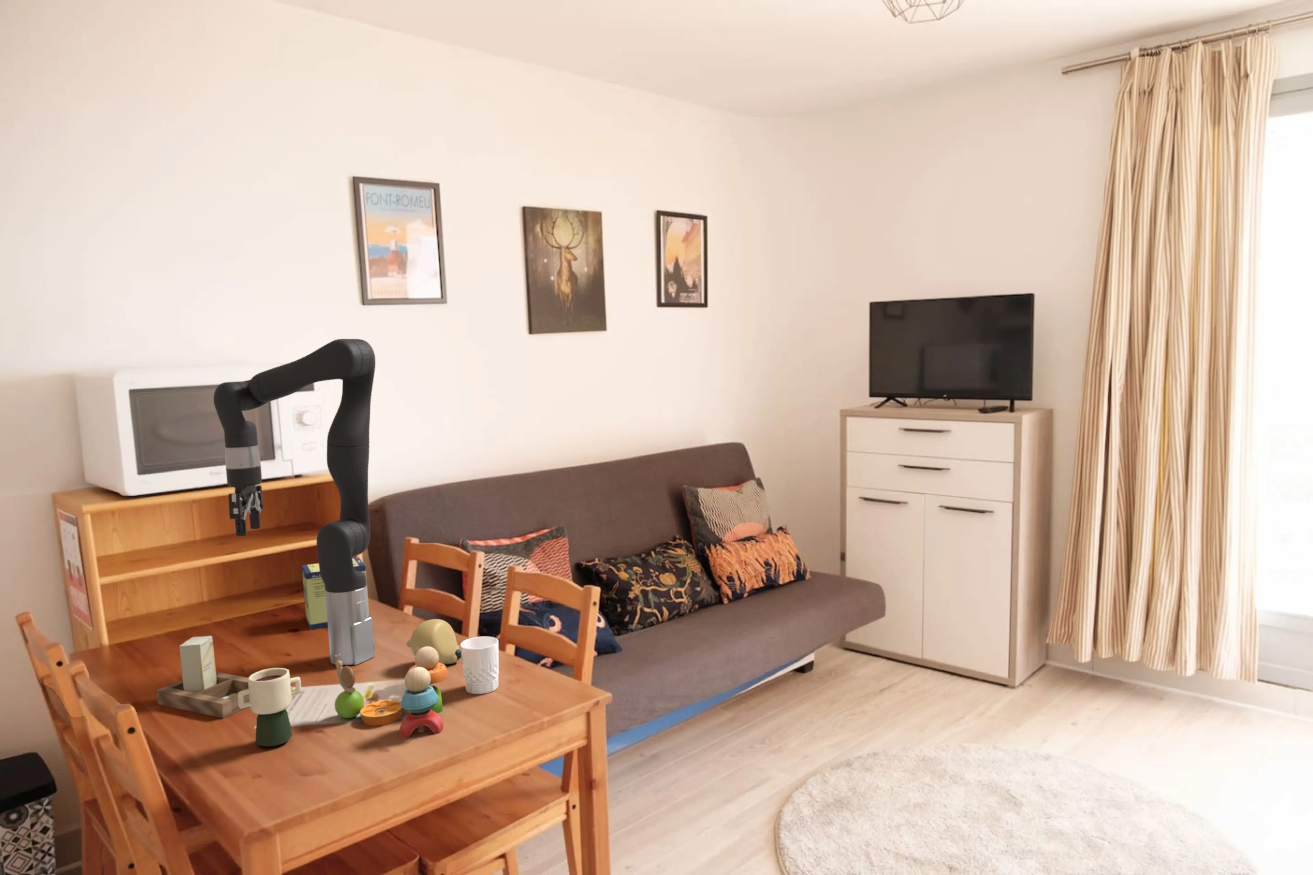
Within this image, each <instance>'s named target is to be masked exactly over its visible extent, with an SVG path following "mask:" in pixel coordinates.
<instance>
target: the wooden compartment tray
mask: <svg viewBox="0 0 1313 875" xmlns="http://www.w3.org/2000/svg"><path fill="white" fill-rule="evenodd" d="M216 679H217V685H214V686H212V687H209V688H207V689H204V690H202V691H200V692H197V693H194V692H189V691H184V687H183V679H182V680H179V681H177V682H174V683H171V684H169V685H167V686H164V687H162V688H160V689H157V690H156V696H157V697H156V698H157V704H158V705H161V706H165V707H169V708H175V709H178V710H179V709H180V710H182V711H188V712H191V713H196V714H202V715H205V716H210V717H211V716H212V717H216V718H220V719H226V718H228V717H229V716H232V715H235V714H237V713H239V712H241V711H243V710H245V709H247V708H249V707H247V708H243V709H240V708H239V705H238V692H240V691H243V690H247V689H249V687H248V677H245V676H241V675H235V674H229V673H225V672H219V671H216ZM246 702H250V700H249V694H248V695H244V703H246Z"/></svg>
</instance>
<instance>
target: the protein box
mask: <svg viewBox="0 0 1313 875" xmlns="http://www.w3.org/2000/svg"><path fill="white" fill-rule="evenodd" d="M352 560H353V567H354V570H355V571H360V572H363V573H364V574H365V575H366V576H367V569H366V564H365V563H364V562H363V561H362V559H361V558H360V557H352ZM301 573H302V584H303V585H302V586H303V595H304V596H303V597H304V606H305V620H306V622H307V625H308V627H309V629H310V631H312V630H318V629H324V628H328V622H327V608H326V594H325V585H324V582H323V580H322V578H321V575H320V569H319V562H318V563H311V564H303V565H301ZM366 582H367V578H366ZM367 583H368V582H367ZM367 596H368V597H367V598H368V599H369V594H368V591H367ZM369 609H370V608H369V605H368V611H369V612H370V610H369Z"/></svg>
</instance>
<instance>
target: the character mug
mask: <svg viewBox="0 0 1313 875" xmlns="http://www.w3.org/2000/svg"><path fill="white" fill-rule="evenodd" d="M247 678H248V687H249V689H247V690H243V691H240V692H238V705H239V708H240V709H243V708H245V709H247V707H248V708H250V710H251V712H253V713H254V714H255V715H257V716H256V724H255V744H256V745H258V746H263V747H276V746H279V745H282V744H285V743H286V742H287V741H290V739H291V738H292V737H293V731H292V727H291V726H292V725H291V722H290V718H289V714H288V711H287V708H289V707H290V706H291V705H292V700H293V699H292V696H295V695H299V694H300V693H302V682H301V677H300V676H296V677H291V675H290V669H287V668H284V667H272V668H265V669H262V670H259V671H255V672H254V673H251V674H250V675H249V676H248V677H247ZM294 683H295V684H294ZM291 684H294V685H295V689H294V690H292V686H291ZM248 694H249V700H250V702H246V703H244V695H248ZM243 710H244V709H243Z"/></svg>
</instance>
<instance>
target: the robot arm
mask: <svg viewBox="0 0 1313 875" xmlns="http://www.w3.org/2000/svg"><path fill="white" fill-rule="evenodd" d="M375 372H376V355H375V352H374V349H373V347H372V345H371V344H370V343H369V342H368V341H366V340H364V339H360V338H337V339H334V340H332V341H330V342H328V343H326V344H324V345H322V346H321V347H319V348H318V349H315V350H314V351H312V352H310V353H309V354H306V355H305V356H302V357H301V358H299V359H296V360H294V361H293V360H292V361H291V362H289V363H285V364H282V365H279V366H276V367H272V368H270V369H267V370H263V371H261V372H259V373H257V374H254V376H253V377H251V378H250V379H248V380H243V381H226V382H225V381H224V382H222V383H220V384H219V385H217V387H216V388H215V390H214V393H213V405H214V409H215V412H216V414H217V416H218V419H219V422H220V425H221V427H222V428H223V434H224V435H223V436H224V447H225V448H224V449H225V451H224V452H225V454H224V462H225V472H226V484H227V486H228V487H230V488H234V493H228V496H227V497H228V508H229V509H228V511H229V520H233V521H234V524H235V535H236V537H245V536H247V534H248V529H247V528H248V526H247V514H248V513H249V515H248V516H249V524H250V525H249V526H250V529H251V530H258V529H259V530H260V528H261V524H262V523H261V515H260V514H261V512H262V510H263V509H264V507H265V506H264V496H263V489H262V488H263V487H262V485H261V484H262V483H263V477H262V466H261V456H260V455H261V454H260V450H259V445H258V444H259V442H258V441H259V440H258V432H257V431H258V430H257V426H256V424H255V422H253V421H249V420H246V418H245V416H244V414H243V412H245V411H246V412H247V411H251V410H254V409H257V408H260V407H262V406H264V405H265V404H268V403H269V402H273V401H276V400H279V399H281V398H285V397H288V396H290V395H292V394H295V393H297V392H298V391H300V390H302V389H303V388H305V387H307V386H309V385H312V384H315V383H318V382H325V381H333V380H341V381H342V384H341V385H342V386H341V387H342V391H341V399H340V403H339V406H338V408H337V411H336V412H335V416H334V417H333V420H332V421H331V424H330V426H329V430H328V432H327V438H326V465H327V468H328V472H329V474H330V476H331V478H332V480H333V482H334V484H335V486H336V488H337V490H338V495H339V498H340V508H339V509H340V512H339V519H338V520H335V521H332V522H329V523H325V524H324V525H322V526H321V528H320V529H319V530H318V533H317V534H316V535H317V536H316V553H317V561H318V563H319V569H320V575H321V578H322V580H323V582H324V585H325V594H326V608H327V622H328V627H327V632H328V633H327V634H328V645H329V660H330V663H331V664H333V665H336V661H338V660H340V661H342V666H349V665H355V666H357V665H359V664H361V663H363V662H366V661H368V660H370V659H372V658H374V657H376V652H375V637H374V622H373V621H374V620H373V617H371V616H370V610H369V611H368V606H369V595H368V596H367V592H368V582H366V579H367V574H366V575H365V574H364V573H363V572H360V571H355V570H354V567H353V560H352V558H355V557H356V556H358V555H361V554H362V553H364V552H365V551H366V550H367V549H368V547H369V545H370V541H371V521H370V510H369V464H370V463H369V460H370V426H371V425H370V424H371V422H370V420H371V404H372V403H371V402H372V401H371V400H372V392H373V385H374V377H375ZM367 597H368V598H367ZM338 654H340V657H338ZM335 655H337V657H336V658H335V657H334V656H335Z"/></svg>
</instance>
